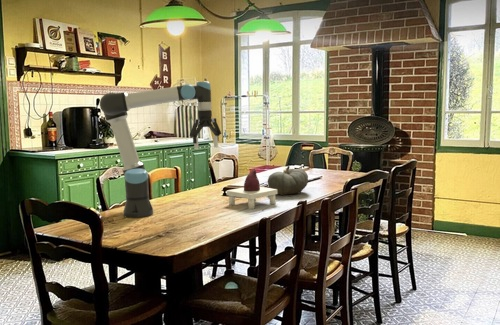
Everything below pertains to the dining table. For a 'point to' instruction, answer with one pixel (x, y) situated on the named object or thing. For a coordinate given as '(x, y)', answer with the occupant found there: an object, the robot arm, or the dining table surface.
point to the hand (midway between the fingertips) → (206, 148)
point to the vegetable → (252, 182)
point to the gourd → (288, 181)
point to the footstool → (251, 195)
